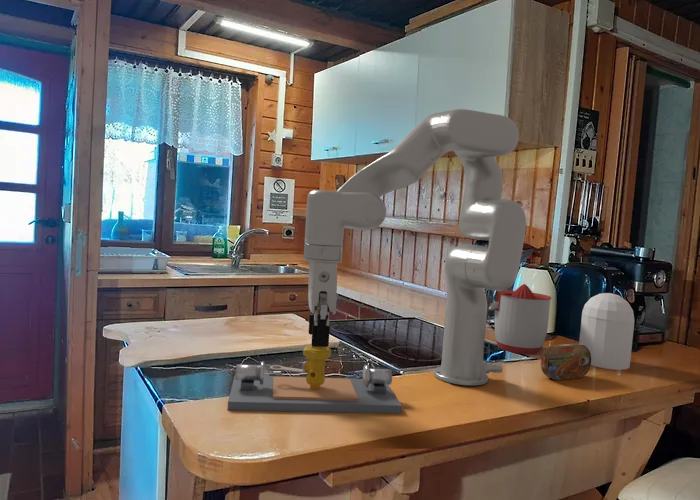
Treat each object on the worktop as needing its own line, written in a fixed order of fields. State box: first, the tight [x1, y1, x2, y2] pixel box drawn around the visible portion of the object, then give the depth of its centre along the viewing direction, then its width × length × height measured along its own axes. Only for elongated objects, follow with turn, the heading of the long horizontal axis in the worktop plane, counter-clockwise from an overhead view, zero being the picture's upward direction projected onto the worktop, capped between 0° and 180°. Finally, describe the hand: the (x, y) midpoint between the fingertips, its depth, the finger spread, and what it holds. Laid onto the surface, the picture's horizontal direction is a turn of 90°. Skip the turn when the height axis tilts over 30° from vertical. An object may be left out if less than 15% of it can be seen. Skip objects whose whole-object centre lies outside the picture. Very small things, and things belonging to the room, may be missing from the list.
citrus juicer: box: [488, 283, 553, 356], centre depth 160 cm, size 16×17×20 cm
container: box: [578, 292, 635, 371], centre depth 152 cm, size 14×13×20 cm
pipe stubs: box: [235, 361, 393, 394], centre depth 107 cm, size 31×4×5 cm, turn 98°
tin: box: [540, 343, 592, 381], centre depth 135 cm, size 15×3×8 cm, turn 116°
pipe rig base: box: [227, 374, 402, 414], centre depth 108 cm, size 32×16×2 cm, turn 98°
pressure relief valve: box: [269, 344, 332, 389], centre depth 108 cm, size 6×12×10 cm, turn 80°
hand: (318, 340), depth 107 cm, fingers open, 9 cm apart
